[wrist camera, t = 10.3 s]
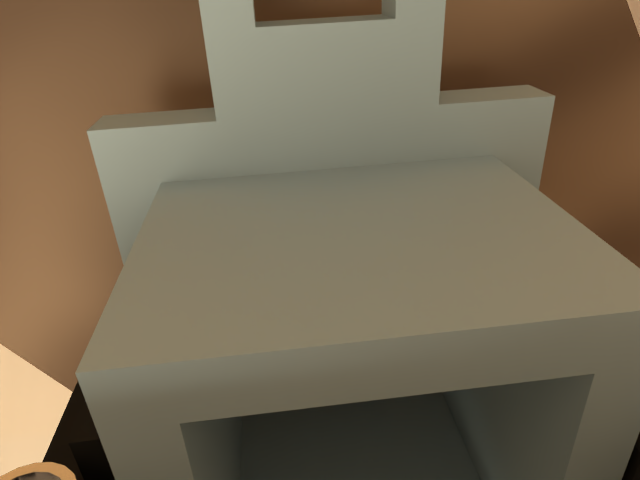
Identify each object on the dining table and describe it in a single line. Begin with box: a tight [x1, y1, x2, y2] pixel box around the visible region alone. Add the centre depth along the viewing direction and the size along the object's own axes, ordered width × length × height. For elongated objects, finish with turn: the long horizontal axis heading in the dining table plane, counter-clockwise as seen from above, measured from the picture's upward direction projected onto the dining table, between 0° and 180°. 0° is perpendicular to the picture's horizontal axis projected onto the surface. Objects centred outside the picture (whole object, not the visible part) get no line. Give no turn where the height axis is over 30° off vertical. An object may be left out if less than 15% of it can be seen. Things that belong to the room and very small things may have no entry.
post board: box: [0, 0, 640, 391], centre depth 12 cm, size 20×18×6 cm
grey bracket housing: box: [75, 0, 640, 480], centre depth 8 cm, size 13×8×6 cm, turn 2°
